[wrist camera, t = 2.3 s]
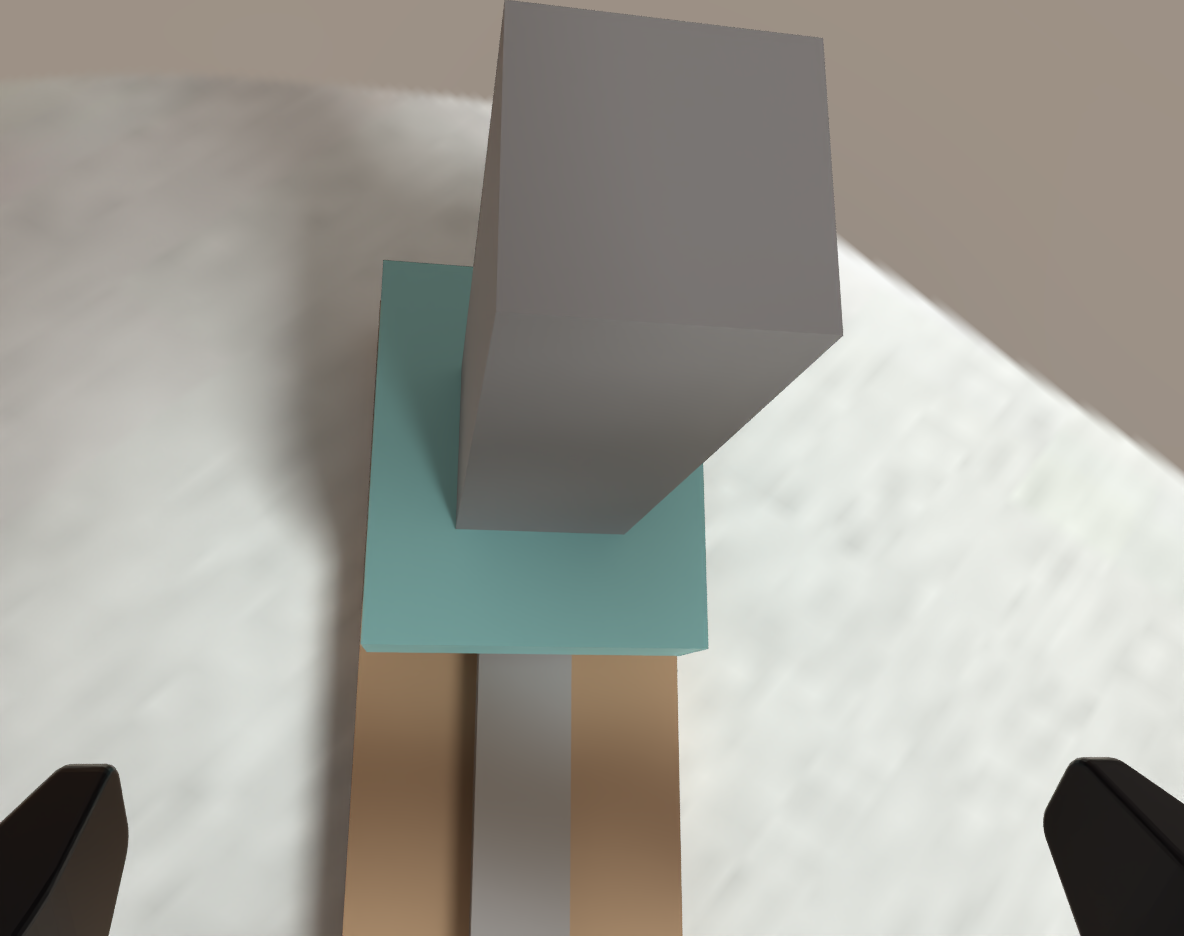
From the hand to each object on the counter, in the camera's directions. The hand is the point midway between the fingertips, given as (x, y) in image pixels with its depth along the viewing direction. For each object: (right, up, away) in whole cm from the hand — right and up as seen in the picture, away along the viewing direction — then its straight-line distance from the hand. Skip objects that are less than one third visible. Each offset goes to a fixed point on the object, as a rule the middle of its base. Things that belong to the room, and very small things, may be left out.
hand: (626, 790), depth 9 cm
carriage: (-2, +3, +10) cm, 11 cm away
